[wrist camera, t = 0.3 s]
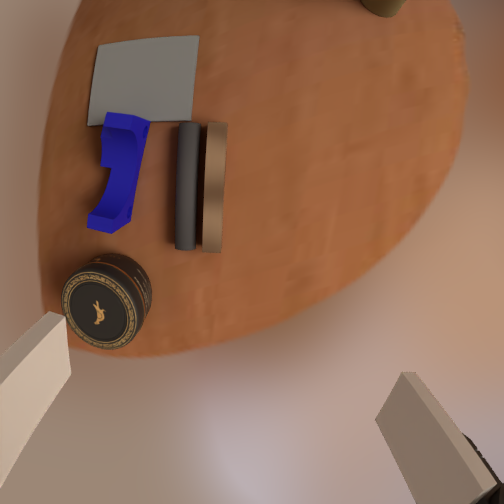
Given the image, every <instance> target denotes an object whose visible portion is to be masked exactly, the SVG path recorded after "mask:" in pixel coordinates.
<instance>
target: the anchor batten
mask: <svg viewBox="0 0 504 504" xmlns="http://www.w3.org/2000/svg"><path fill="white" fill-rule="evenodd" d="M227 132H228V124H227V123H221V122H208V130H207V146H206V163H205V183H204V208H203V243H202V252H209V253H221V248H222V226H223V204H224V183H225V165H226V148H227Z"/></svg>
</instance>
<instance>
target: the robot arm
mask: <svg viewBox="0 0 504 504" xmlns="http://www.w3.org/2000/svg"><path fill="white" fill-rule="evenodd" d="M70 375H71V369H70V362H69V352H68V343H67V331H66V317H65V316H62V315H59V314H56V313H53V312H50V311H49V312H48V313H46V314H45V315H44V316H43V317H42V318H41V319H40V320H38V322H36V323H35V324H34V325H33V326H32V327H31V328H30V329H29V330H28V331H26V332H25V333H24V334H23V335H22V336H21V337H20V338H19V339H18V340H17V341H16V342H15V343H13V344H12V345H11V346H10V348H8V349H7V350H6V351H5V352H4V353H3V354H2V355H1V356H0V488H1V487H2V485H3V483H4V481H5V479H6V477H7V476H8V474H9V472H10V470H11V468H12V466H13V465H14V463H15V461H16V460H17V458H18V456H19V454H20V453H21V451H22V449H23V448H24V446H25V444H26V443H27V441H28V439H29V438H30V436H31V434H32V433H33V431H34V430H35V428H36V426H37V425H38V423H39V422H40V420H41V419H42V417H43V415H44V414H45V412H46V410H47V409H48V408H49V406H50V405H51V403H52V402H53V400H54V398H55V397H56V396H57V394H58V393H59V391H60V390H61V388H62V387H63V385H64V384H65V382H66V381H67V379H68V378H69V377H70ZM375 420H376V422H377V424H378V426H379V428H380V430H381V432H382V434H383V436H384V438H385V440H386V442H387V444H388V446H389V448H390V450H391V452H392V454H393V456H394V458H395V460H396V462H397V464H398V466H399V469H400V471H401V473H402V475H403V477H404V479H405V481H406V483H407V485H408V487H409V489H410V491H411V493H412V495H413V498H414V500H415V502H416V504H504V483H502V482H501V481H500V480H499V479H498V477H497V476H496V474H495V473H494V471H493V470H492V468H491V467H490V465H489V464H488V463H487V461H486V460H485V458H482V454H481V453H480V451H477V447H476V446H475V445H474V443H473V442H472V441H471V439H469V438H468V437H467V436H466V435H464V434H463V433H461V431H460V430H459V429H458V427H457V426H456V424H455V423H454V422H453V420H452V419H451V418H450V417H449V415H448V414H447V412H446V411H445V410H444V408H443V407H442V406H441V404H440V403H439V402H438V401H437V399H436V398H435V397H434V395H433V394H432V393H431V392H430V390H429V389H428V388H427V387H426V385H425V384H424V383H423V382H422V380H421V379H420V378H419V376H418V375H417V374H416V372H402V373H401V374H400V376H399V378H398V380H397V382H396V384H395V386H394V388H393V389H392V391H391V393H390V395H389V397H388V398H387V400H386V402H385V404H384V405H383V407H382V409H381V410H380V412H379V414H378V415H377V417H376V419H375Z"/></svg>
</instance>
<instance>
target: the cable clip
mask: <svg viewBox="0 0 504 504" xmlns="http://www.w3.org/2000/svg"><path fill="white" fill-rule="evenodd" d="M150 122H151V121H148V120H146V119H143V118H140V117H138V116H135V115H130V114H122V113H114V112H107V114H106V116H105V120H104V124H103V129H102V133H101V141H102V158H101V165H100V166H103V167H108V168H111V173H110V177H109V181H108V184H107V187H106V190H105V192H104V194H103V197H102V199H101V200H100V202H99V204H98V205H97V207H96V208H95V209H94V210H93V211H92V212H91V213H89V214H88V222H87V228H90V229H94V230H98V231H102V232H106V233H110V234H112V233H114V232H115V231H117V230H118V229H120V228H121V227H123V226H124V225H126V224H127V223H129V222H130V221H131V215H132V208H133V202H134V197H135V191H136V186H137V180H138V175H139V170H140V165H141V161H142V156H143V151H144V147H145V143H146V138H147V134H148V130H149V126H150Z"/></svg>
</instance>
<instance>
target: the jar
mask: <svg viewBox="0 0 504 504" xmlns="http://www.w3.org/2000/svg"><path fill="white" fill-rule="evenodd" d="M151 301H152V289H151V284H150V281H149V278H148V276H147V274H146V272H145V271H144V270H143V268H142V267H141V266H140V265H139V264H138V263H137V262H135V261H134V260H133V259H131V258H129V257H127V256H124V255H120V254H105V255H101V256H98V257H96V258H94V259H93V260H91V261H90V262H88V263H87V264H85V265H83V266H82V267H80V268H79V269H77V270H76V271H75V272H74V273H73V274H72V275H71V276H70V277H69V278H68V279H67V281H66V282H65V284H64V287H63V290H62V296H61V304H62V310H63V313H64V316H65V317H66V321H67V323H68V324H69V326H70V327H71V329H72V330H73V331H74V332H75V334H76V335H77V336H79V337H80V338H81V339H82V340H83V341H85V342H86V343H88V344H90V345H92V346H94V347H97V348H101V349H108V350H111V349H118V348H121V347H123V346H125V345H127V344H128V343H129V342H131V341H132V339H133V338H134V337H135V336H136V334H137V333H138V332H139V331H140V329H141V327H142V325H143V322H144V319H145V318H146V316H147V314H148V312H149V309H150V306H151Z"/></svg>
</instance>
